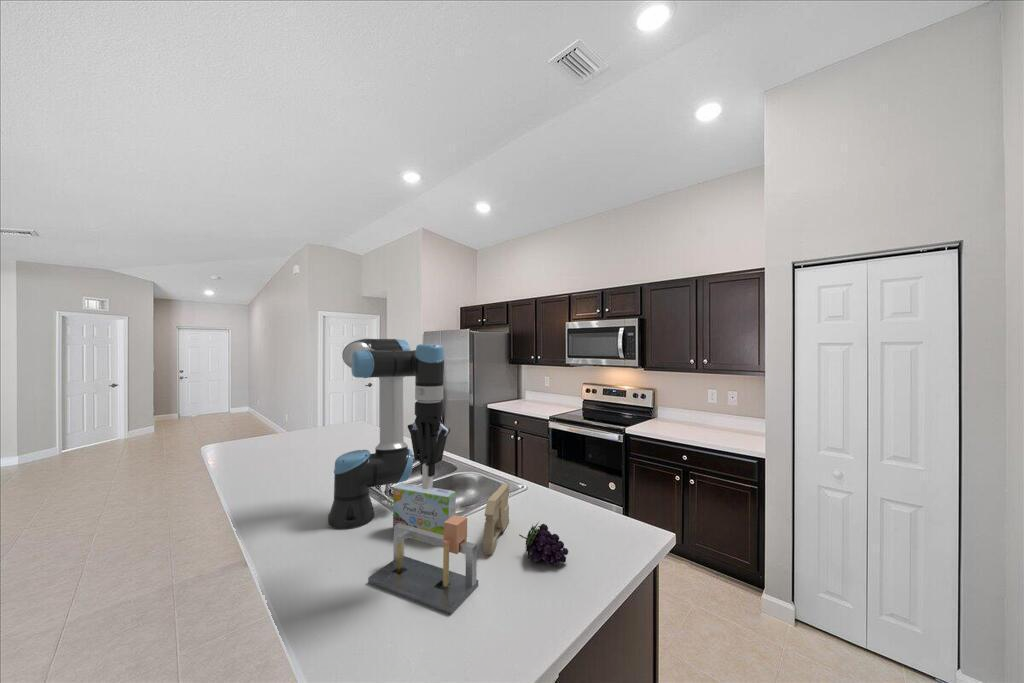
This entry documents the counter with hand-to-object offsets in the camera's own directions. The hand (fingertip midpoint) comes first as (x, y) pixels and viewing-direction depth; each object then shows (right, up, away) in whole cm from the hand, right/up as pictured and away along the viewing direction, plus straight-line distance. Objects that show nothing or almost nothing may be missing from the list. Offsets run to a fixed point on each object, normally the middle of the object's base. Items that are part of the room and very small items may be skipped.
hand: (427, 487), depth 103 cm
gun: (+18, -24, +20) cm, 36 cm away
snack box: (-6, -24, +21) cm, 32 cm away
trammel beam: (+1, -23, -4) cm, 23 cm away
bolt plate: (0, -23, -5) cm, 24 cm away
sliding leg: (+8, -21, -6) cm, 23 cm away
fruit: (+32, -24, +7) cm, 40 cm away
